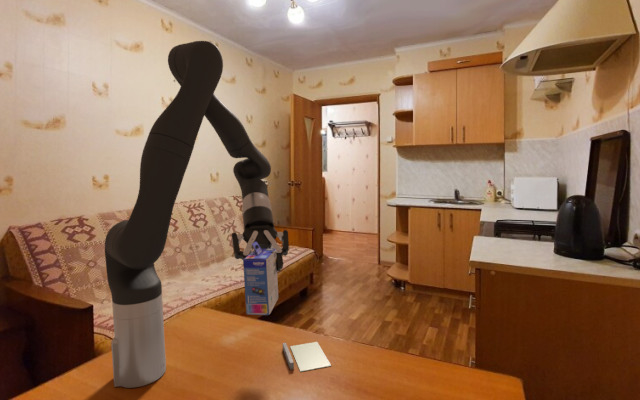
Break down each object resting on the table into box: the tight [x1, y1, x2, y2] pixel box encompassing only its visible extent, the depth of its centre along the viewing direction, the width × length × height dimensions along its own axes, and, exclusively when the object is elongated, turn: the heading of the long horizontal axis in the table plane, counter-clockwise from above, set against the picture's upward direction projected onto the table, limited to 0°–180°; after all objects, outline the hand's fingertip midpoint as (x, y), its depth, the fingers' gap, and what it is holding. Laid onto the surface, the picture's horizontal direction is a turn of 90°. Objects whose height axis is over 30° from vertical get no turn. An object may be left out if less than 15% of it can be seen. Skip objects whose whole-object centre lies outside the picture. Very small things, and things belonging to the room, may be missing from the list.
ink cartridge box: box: [242, 242, 279, 316], centre depth 75 cm, size 10×6×14 cm, turn 176°
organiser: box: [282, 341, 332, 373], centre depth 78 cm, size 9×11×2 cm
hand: (264, 271), depth 77 cm, fingers closed on ink cartridge box, 6 cm apart
